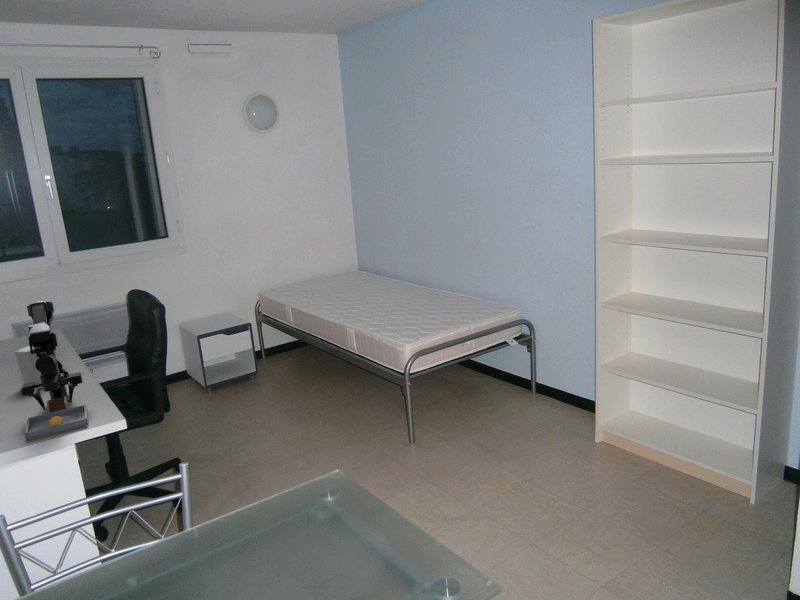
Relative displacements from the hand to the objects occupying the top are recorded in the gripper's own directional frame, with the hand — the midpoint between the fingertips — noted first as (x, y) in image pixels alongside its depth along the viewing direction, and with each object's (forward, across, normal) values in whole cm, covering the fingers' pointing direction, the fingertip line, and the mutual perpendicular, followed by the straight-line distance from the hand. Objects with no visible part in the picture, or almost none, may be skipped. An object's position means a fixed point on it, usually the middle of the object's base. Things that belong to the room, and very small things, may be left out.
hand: (57, 406), depth 219 cm
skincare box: (+3, -9, +44) cm, 45 cm away
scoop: (+2, 0, 0) cm, 3 cm away
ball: (0, 0, -18) cm, 18 cm away
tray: (+2, 0, -13) cm, 13 cm away
